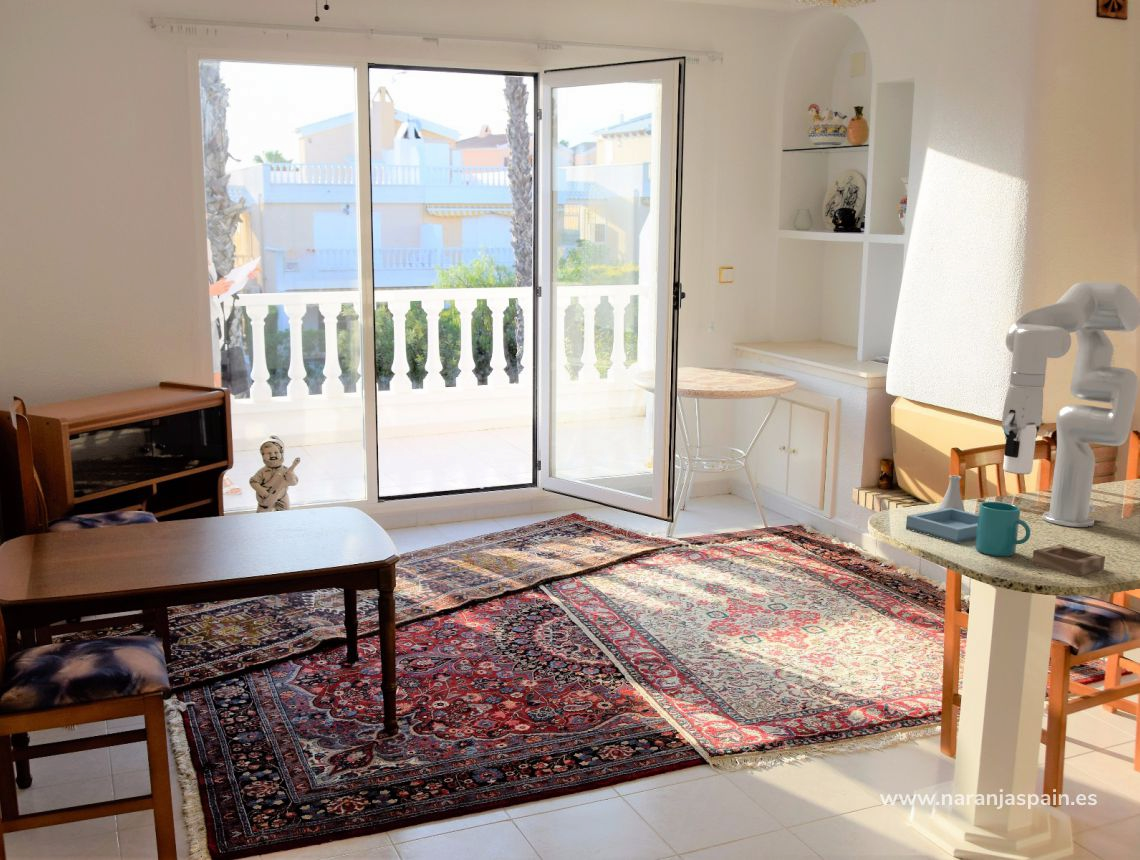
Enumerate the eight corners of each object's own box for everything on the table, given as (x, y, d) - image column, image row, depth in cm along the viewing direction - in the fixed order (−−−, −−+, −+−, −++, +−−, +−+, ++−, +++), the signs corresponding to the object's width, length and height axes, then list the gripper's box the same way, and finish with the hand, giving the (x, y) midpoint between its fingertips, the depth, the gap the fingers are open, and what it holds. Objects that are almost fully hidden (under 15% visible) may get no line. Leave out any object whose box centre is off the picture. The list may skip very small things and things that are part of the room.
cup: (1021, 562, 248) (1026, 515, 246) (969, 551, 256) (974, 505, 254) (1033, 554, 255) (1038, 508, 253) (982, 544, 263) (986, 499, 261)
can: (1028, 475, 252) (1033, 425, 250) (999, 471, 256) (1004, 422, 254) (1034, 471, 257) (1040, 422, 255) (1006, 467, 261) (1011, 418, 259)
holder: (1058, 556, 254) (1059, 544, 254) (1103, 569, 246) (1105, 556, 245) (1032, 563, 248) (1033, 550, 248) (1077, 576, 239) (1079, 563, 239)
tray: (948, 520, 285) (950, 507, 284) (999, 534, 273) (1001, 520, 272) (905, 528, 274) (907, 515, 274) (956, 543, 262) (958, 529, 262)
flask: (969, 515, 291) (973, 479, 289) (943, 514, 291) (946, 478, 289) (959, 509, 298) (963, 473, 296) (934, 508, 298) (937, 473, 296)
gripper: (1032, 376, 261) (1024, 448, 264) (992, 380, 250) (984, 456, 254) (1061, 380, 255) (1053, 454, 258) (1022, 385, 245) (1013, 462, 248)
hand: (1019, 454), depth 256 cm, fingers closed on can, 6 cm apart
